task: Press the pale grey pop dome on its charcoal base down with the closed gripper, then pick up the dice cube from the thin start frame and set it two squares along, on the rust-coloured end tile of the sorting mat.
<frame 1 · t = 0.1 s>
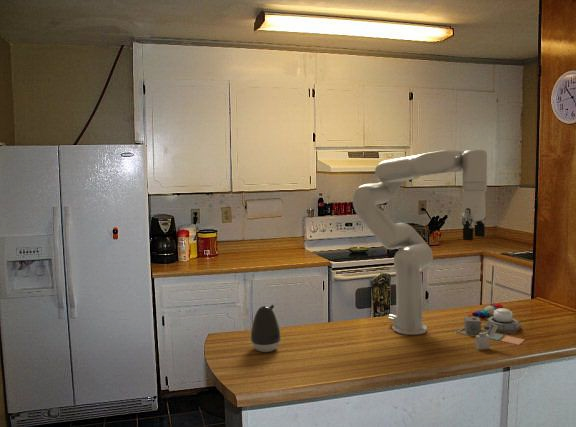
hand: (473, 238, 163), 37 cm above the counter, tool pointing down, fingers open, 9 cm apart
pump dispenser: (266, 349, 167), on the counter
sorting mat: (472, 331, 179), on the counter
dome: (503, 314, 181), point 5 cm above the counter, slide at 0.0 cm
dice cube: (472, 332, 179), on the counter
toy figure: (487, 317, 197), on the counter
dome base: (502, 328, 182), on the counter
lighter: (486, 348, 163), on the counter
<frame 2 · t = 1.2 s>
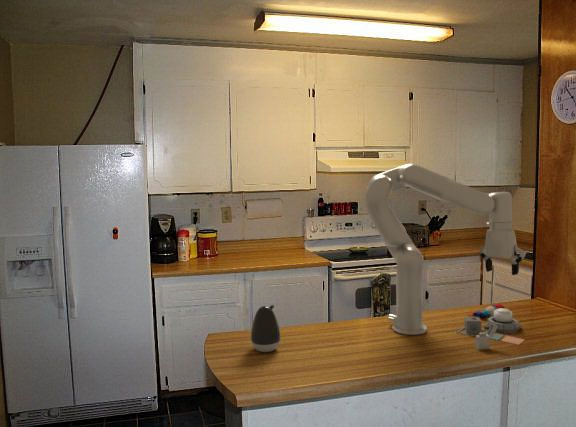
hand: (501, 272, 177), 22 cm above the counter, tool pointing down, fingers open, 9 cm apart
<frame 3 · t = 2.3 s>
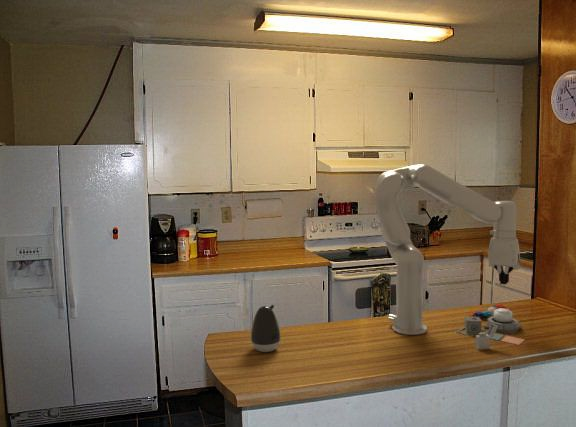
hand: (503, 283, 180), 17 cm above the counter, tool pointing down, fingers closed
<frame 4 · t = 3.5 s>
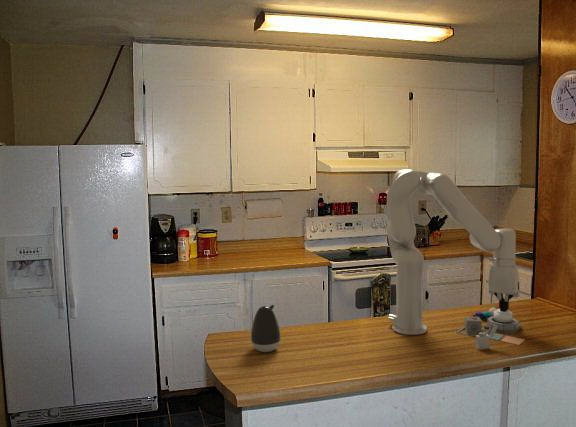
hand: (503, 310, 181), 7 cm above the counter, tool pointing down, fingers closed
dome: (503, 315, 181), point 5 cm above the counter, slide at 0.2 cm, touching gripper
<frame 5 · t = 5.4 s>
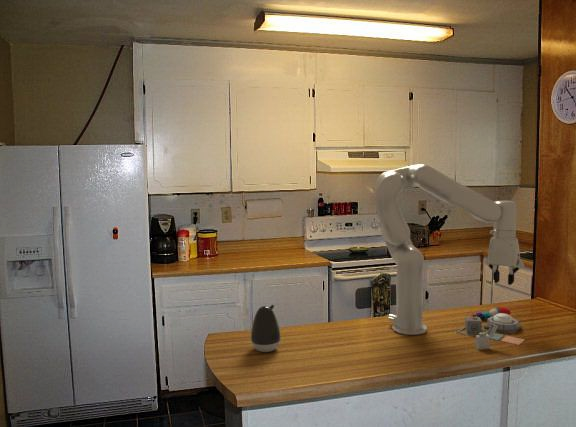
hand: (503, 282, 180), 17 cm above the counter, tool pointing down, fingers open, 4 cm apart
dome: (502, 319, 182), point 3 cm above the counter, slide at 1.9 cm
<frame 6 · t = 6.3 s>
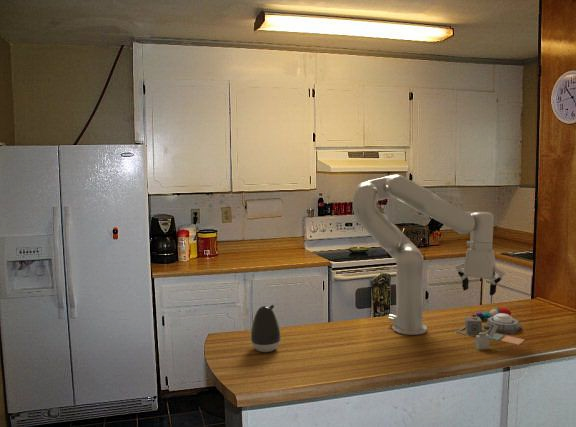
hand: (478, 292, 178), 15 cm above the counter, tool pointing down, fingers open, 9 cm apart
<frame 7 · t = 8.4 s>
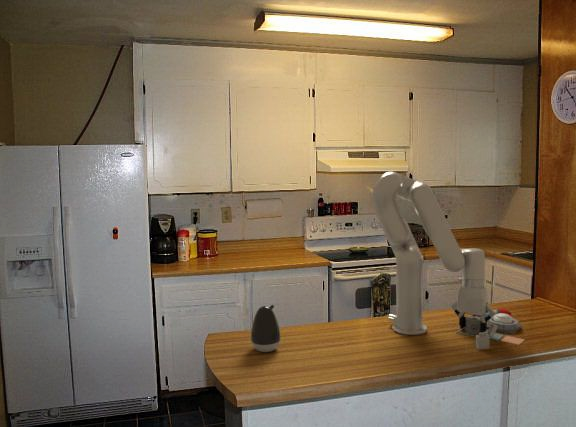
hand: (472, 329, 179), 1 cm above the counter, tool pointing down, fingers closed on dice cube, 6 cm apart
dice cube: (473, 332, 179), on the counter, touching gripper
toy figure: (490, 321, 192), on the counter
everything else where it was.
when the fingers open (2 cm above the counter, at t = 13.3 s): dice cube stays where it is, resting on sorting mat.
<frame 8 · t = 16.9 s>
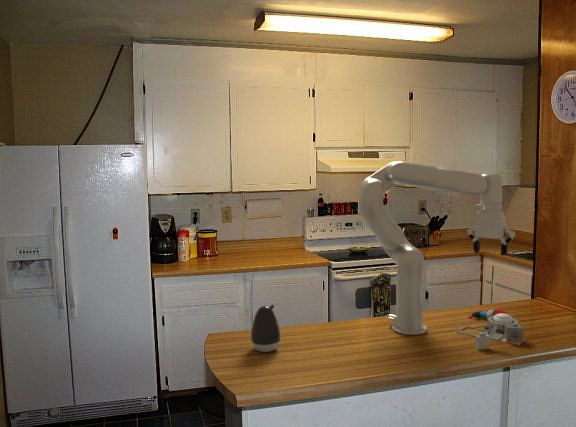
hand: (490, 253, 180), 28 cm above the counter, tool pointing down, fingers open, 9 cm apart
dice cube: (513, 340, 169), resting on sorting mat
at the end: dome slide at 1.9 cm; dice cube inside the target area (0.4 cm from its centre), resting on sorting mat; the gripper is holding nothing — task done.
